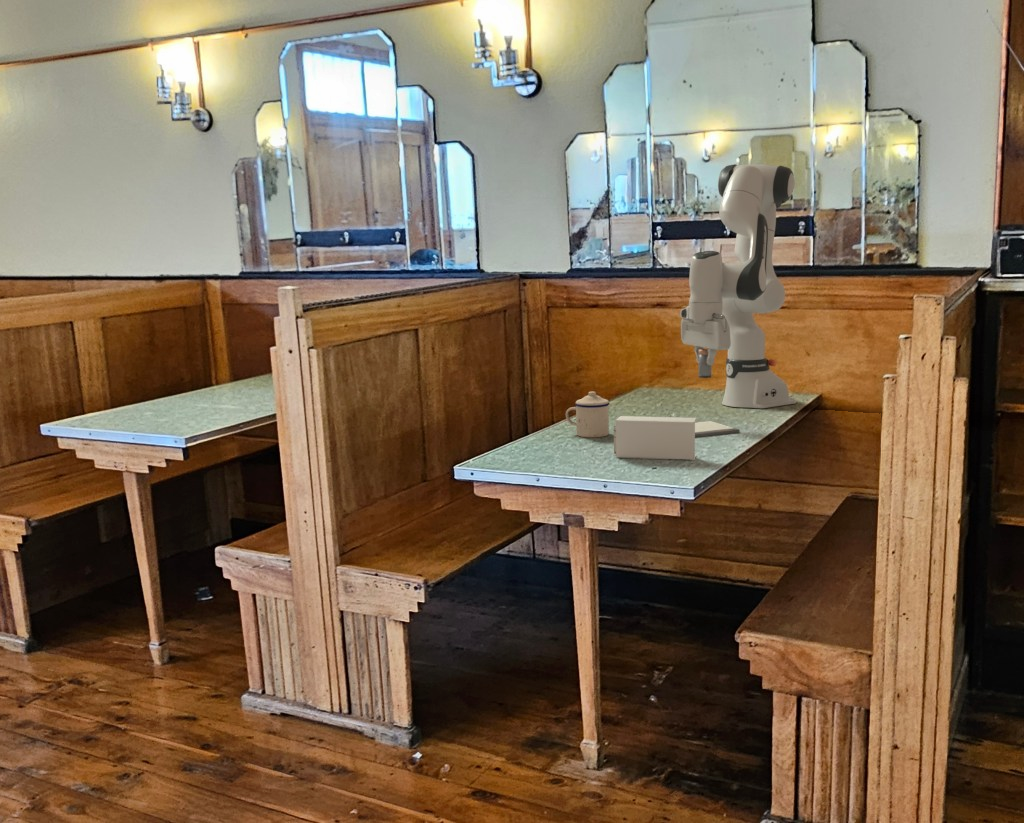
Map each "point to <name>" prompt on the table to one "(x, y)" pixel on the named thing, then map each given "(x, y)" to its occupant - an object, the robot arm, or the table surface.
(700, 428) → the whiteboard
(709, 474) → the table surface
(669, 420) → the cigarette display
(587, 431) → the teacup with lid
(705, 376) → the cylinder
